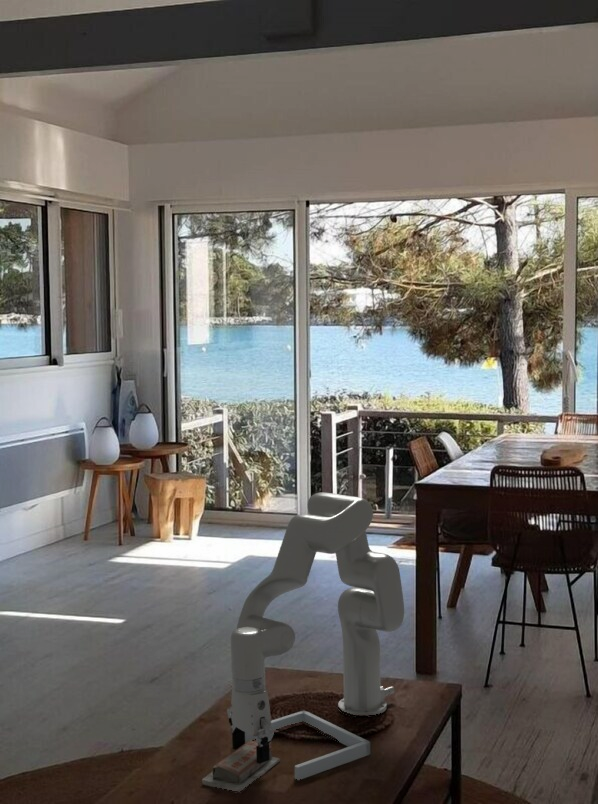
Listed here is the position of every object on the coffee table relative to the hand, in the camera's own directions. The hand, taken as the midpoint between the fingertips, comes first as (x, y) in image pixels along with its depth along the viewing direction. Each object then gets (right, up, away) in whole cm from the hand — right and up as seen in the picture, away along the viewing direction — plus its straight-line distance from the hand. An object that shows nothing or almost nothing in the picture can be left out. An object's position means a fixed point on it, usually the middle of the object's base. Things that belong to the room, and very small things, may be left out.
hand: (250, 754), depth 257 cm
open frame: (+11, -2, +9) cm, 14 cm away
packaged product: (-2, -4, -3) cm, 5 cm away
